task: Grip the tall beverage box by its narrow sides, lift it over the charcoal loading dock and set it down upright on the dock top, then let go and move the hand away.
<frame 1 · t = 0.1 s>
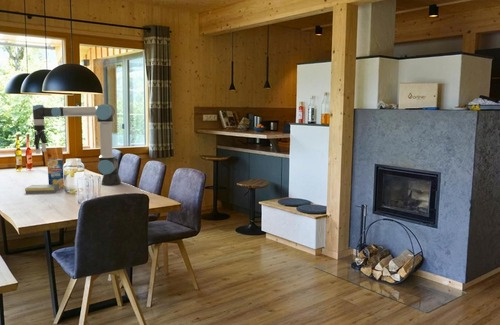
hand: (41, 152, 342), 28 cm above the table, tool pointing down, fingers open, 13 cm apart
dock: (43, 191, 334), on the table
beverage box: (56, 187, 350), on the table
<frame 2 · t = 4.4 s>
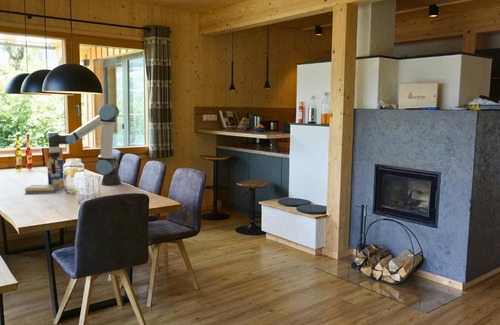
hand: (56, 181, 349), 5 cm above the table, tool pointing down, fingers closed on beverage box, 2 cm apart
beverage box: (56, 187, 350), on the table, touching gripper
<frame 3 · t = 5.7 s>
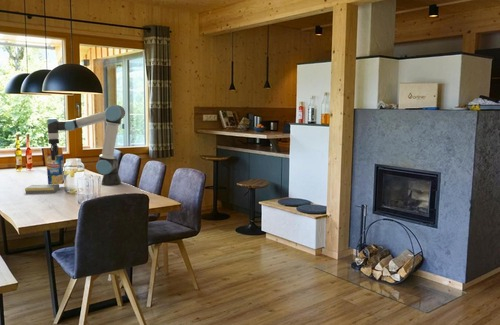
hand: (55, 168, 348), 15 cm above the table, tool pointing down, fingers closed on beverage box, 2 cm apart
beverage box: (56, 183, 350), point 3 cm above the table, touching gripper
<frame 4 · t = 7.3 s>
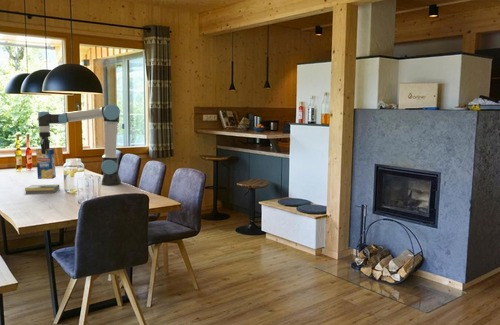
hand: (46, 162, 337), 21 cm above the table, tool pointing down, fingers closed on beverage box, 2 cm apart
beverage box: (46, 178, 339), point 9 cm above the table, touching gripper, hand
when the fingers open (10 cm above the table, at t = 10.9 s): beverage box stays where it is, resting on dock.
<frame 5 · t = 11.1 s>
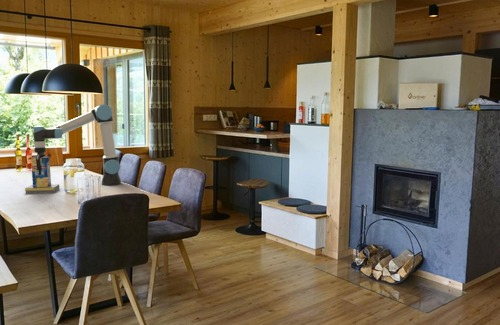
hand: (42, 178, 332), 10 cm above the table, tool pointing down, fingers open, 5 cm apart
beverage box: (42, 186, 333), point 4 cm above the table, touching dock
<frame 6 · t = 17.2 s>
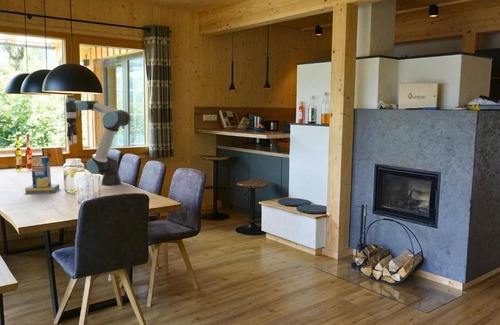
hand: (72, 143, 361), 33 cm above the table, tool pointing down, fingers open, 13 cm apart
nothing on the table moved.
at the end: beverage box inside the target area on the dock (0.3 cm from its centre), point 3.8 cm above the dock's base; beverage box tilted 0°; the gripper is holding nothing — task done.
